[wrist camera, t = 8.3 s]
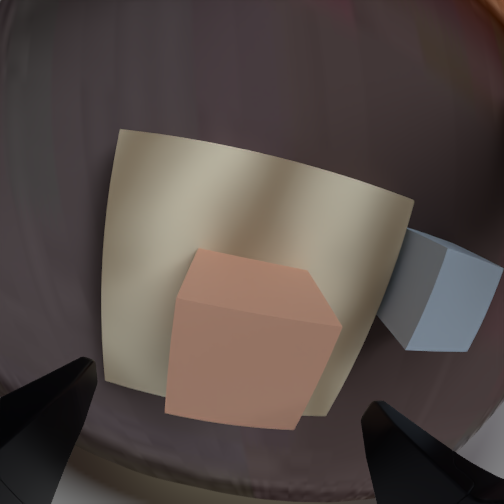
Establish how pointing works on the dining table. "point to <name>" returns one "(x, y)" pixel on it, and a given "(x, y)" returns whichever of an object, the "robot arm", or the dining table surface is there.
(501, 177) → the dining table surface
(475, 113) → the dining table surface
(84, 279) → the dining table surface
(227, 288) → the terracotta block
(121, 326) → the birch board
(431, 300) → the slate block
